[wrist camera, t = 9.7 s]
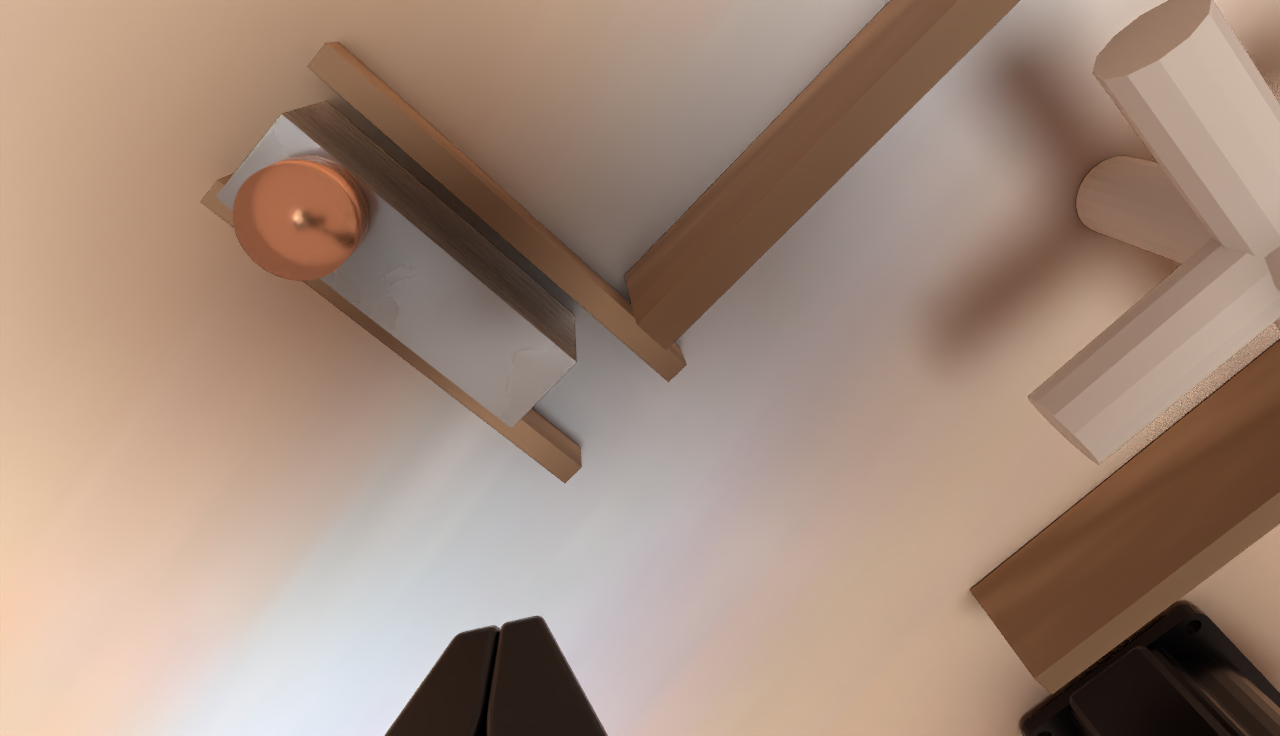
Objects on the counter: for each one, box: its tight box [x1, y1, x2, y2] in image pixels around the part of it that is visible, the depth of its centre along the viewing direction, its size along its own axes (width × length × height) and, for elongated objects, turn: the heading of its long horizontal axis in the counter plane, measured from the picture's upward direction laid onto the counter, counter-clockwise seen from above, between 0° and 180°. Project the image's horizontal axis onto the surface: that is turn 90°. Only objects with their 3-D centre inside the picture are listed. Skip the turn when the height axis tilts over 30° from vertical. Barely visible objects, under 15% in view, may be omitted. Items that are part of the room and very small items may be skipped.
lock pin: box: [215, 101, 577, 428], centre depth 17 cm, size 7×2×4 cm, turn 46°
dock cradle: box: [201, 0, 1280, 694], centre depth 17 cm, size 22×23×4 cm
